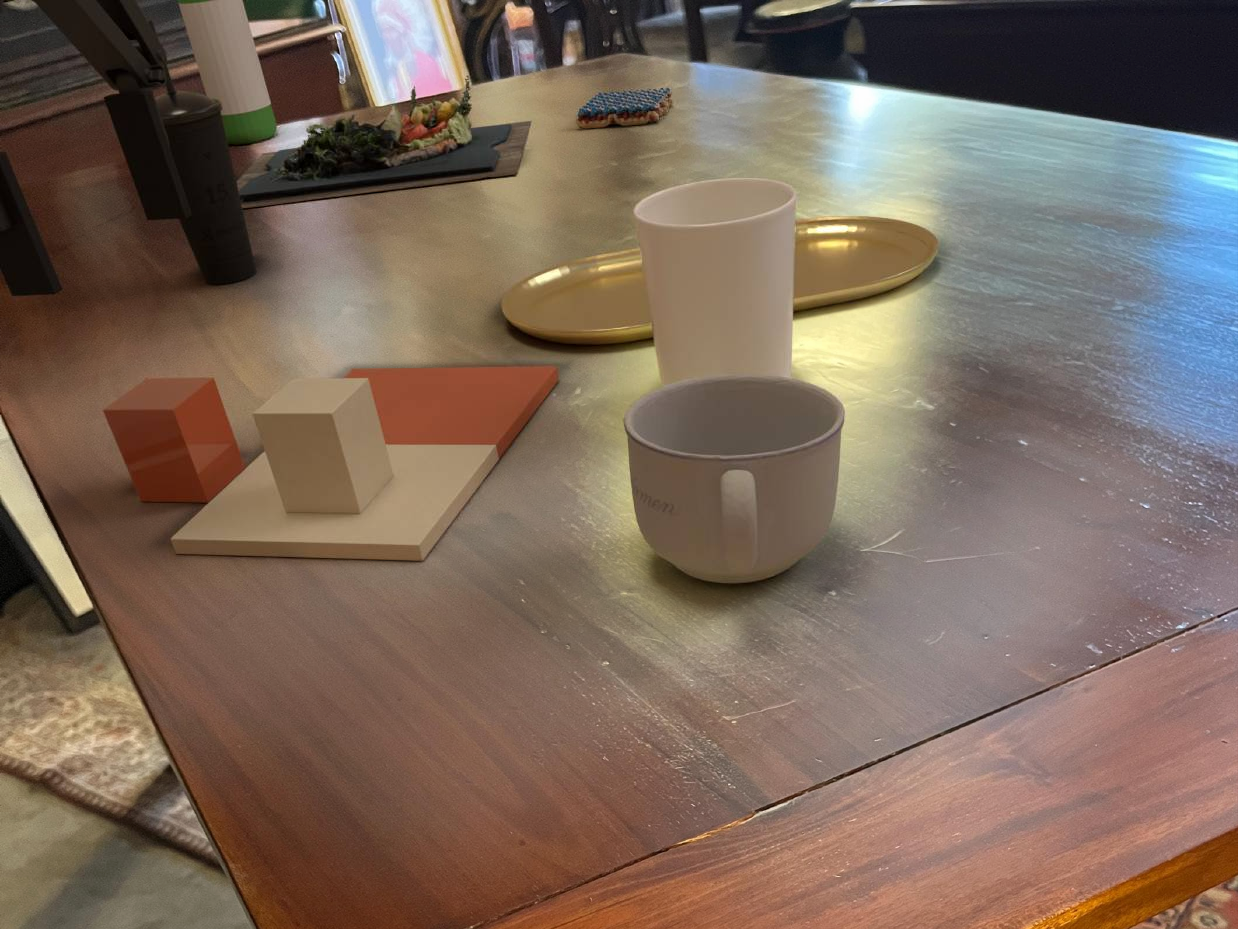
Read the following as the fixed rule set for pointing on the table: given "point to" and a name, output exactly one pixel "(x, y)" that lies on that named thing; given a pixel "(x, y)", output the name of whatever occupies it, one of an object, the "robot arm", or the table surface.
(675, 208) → the white tumbler
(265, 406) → the cream block
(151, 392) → the terracotta block
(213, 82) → the wine bottle
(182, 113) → the drinking cup
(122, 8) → the robot arm
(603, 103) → the blueberry tart
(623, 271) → the serving platter
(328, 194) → the plated dish
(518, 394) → the sorting board
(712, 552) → the teacup
